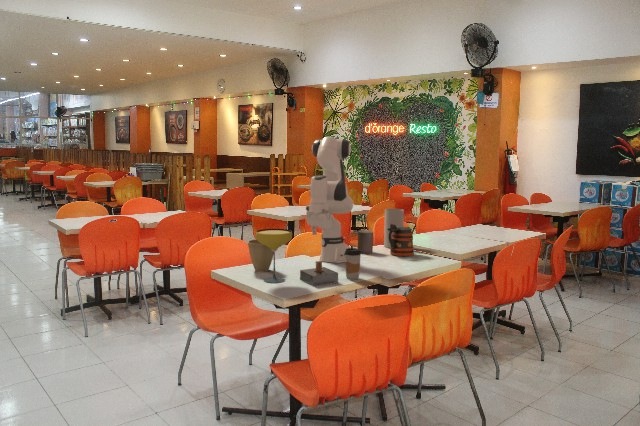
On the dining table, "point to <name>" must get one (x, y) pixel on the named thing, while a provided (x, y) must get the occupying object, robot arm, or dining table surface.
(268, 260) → the plant pot
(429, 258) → the dining table surface
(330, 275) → the nut block
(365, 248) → the pillar candle
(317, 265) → the walnut pin
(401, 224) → the cylinder vase
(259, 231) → the cocktail glass
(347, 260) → the coffee cup
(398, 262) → the dining table surface
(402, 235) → the beer stein
